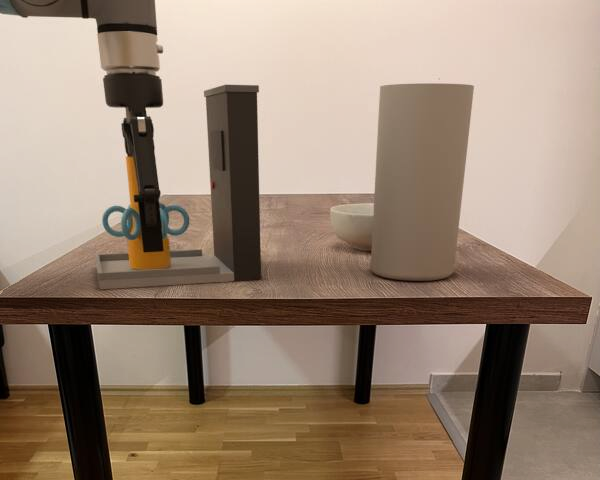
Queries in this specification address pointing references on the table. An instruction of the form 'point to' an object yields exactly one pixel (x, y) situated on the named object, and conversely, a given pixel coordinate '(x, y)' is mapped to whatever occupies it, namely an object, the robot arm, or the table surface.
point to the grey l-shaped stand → (214, 204)
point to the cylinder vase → (419, 179)
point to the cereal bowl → (354, 224)
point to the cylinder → (133, 228)
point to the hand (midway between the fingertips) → (149, 244)
